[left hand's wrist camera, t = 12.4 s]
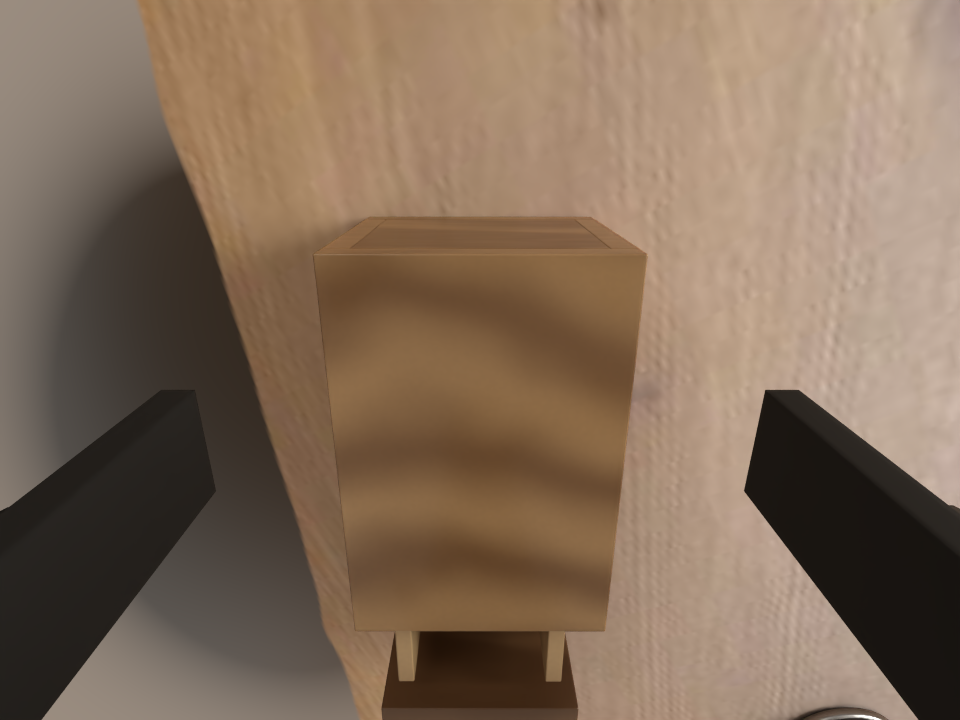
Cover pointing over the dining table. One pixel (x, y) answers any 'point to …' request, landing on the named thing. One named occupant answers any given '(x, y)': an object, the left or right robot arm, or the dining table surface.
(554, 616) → the cabinet
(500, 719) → the drawer
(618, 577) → the dining table surface
